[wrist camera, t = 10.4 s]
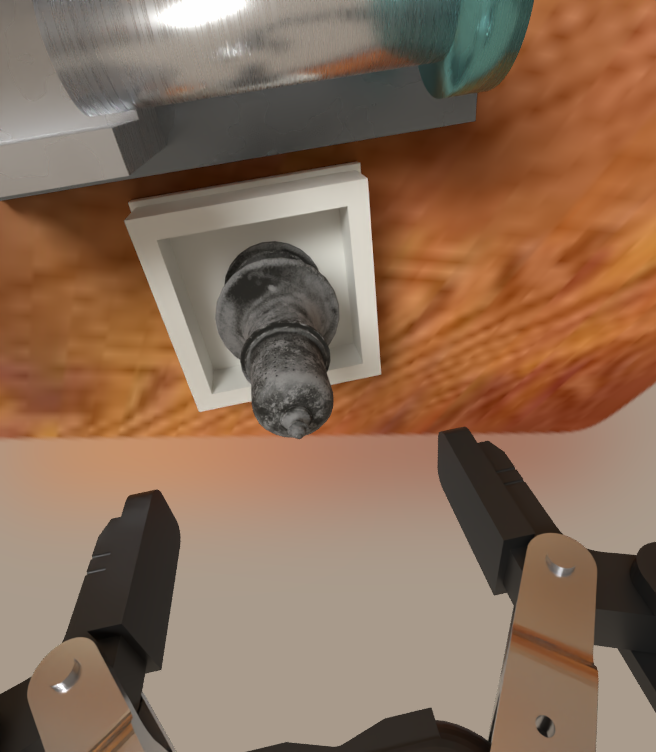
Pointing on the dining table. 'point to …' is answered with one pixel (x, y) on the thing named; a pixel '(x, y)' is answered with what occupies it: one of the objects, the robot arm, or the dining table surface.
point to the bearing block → (186, 120)
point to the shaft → (270, 45)
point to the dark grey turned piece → (281, 335)
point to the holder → (234, 235)
